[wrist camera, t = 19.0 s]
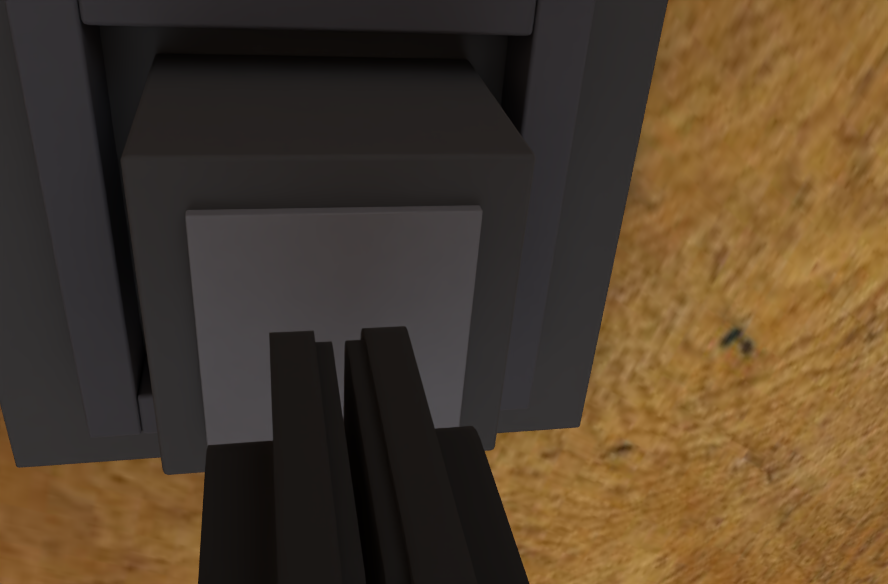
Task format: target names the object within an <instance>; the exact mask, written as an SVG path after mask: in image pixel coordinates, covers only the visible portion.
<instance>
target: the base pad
mask: <svg viewBox="0 0 888 584" xmlns="http://www.w3.org/2000/svg"><path fill="white" fill-rule="evenodd" d="M667 2H668V0H0V405H1V409H2V413H3V417H4V421H5V424H6V428H7V432H8V436H9V440H10V444H11V448H12V451H13V455H14V459H15V463H16V466H17V467H19V468H20V467H34V466H48V465H62V464H75V463H89V462H103V461H117V460H131V459H145V458H159V457H161V454H160V446H159V439H158V432H157V424H156V417H155V410H154V402H153V395H152V388H151V380H150V373H149V366H148V359H147V351H146V344H145V337H144V329H143V322H142V315H141V307H140V300H139V293H138V285H137V278H136V271H135V263H134V256H133V249H132V241H131V234H130V227H129V220H128V212H127V205H126V198H125V190H124V183H123V176H122V168H121V161H120V160H121V157H122V154H123V151H124V148H125V145H126V142H127V139H128V136H129V133H130V130H131V127H132V124H133V120H134V117H135V114H136V111H137V108H138V105H139V102H140V99H141V96H142V93H143V90H144V87H145V84H146V81H147V78H148V75H149V72H150V69H151V66H152V63H153V60H154V57H155V55H156V54H213V55H266V56H319V57H372V58H425V59H466V60H468V61H469V62H470V63H471V65H472V66H473V68H474V69H475V70H476V72H477V73H478V75H479V76H480V77H481V79H482V80H483V82H484V83H485V85H486V86H487V87H488V89H489V90H490V92H491V93H492V95H493V96H494V97H495V99H496V100H497V102H498V103H499V105H500V106H501V107H502V109H503V110H504V112H505V113H506V115H507V116H508V117H509V119H510V120H511V122H512V123H513V125H514V126H515V127H516V129H517V130H518V132H519V133H520V135H521V136H522V137H523V139H524V140H525V142H526V143H527V144H528V146H529V147H530V149H531V150H532V152H533V153H534V155H535V164H534V171H533V178H532V186H531V193H530V200H529V207H528V214H527V221H526V228H525V235H524V242H523V249H522V256H521V264H520V271H519V278H518V285H517V292H516V299H515V306H514V313H513V320H512V327H511V335H510V342H509V349H508V356H507V363H506V370H505V377H504V384H503V391H502V398H501V406H500V413H499V420H498V427H497V433H506V432H520V431H534V430H548V429H561V428H575V427H579V426H580V422H581V417H582V412H583V407H584V403H585V398H586V393H587V388H588V383H589V378H590V374H591V369H592V364H593V359H594V354H595V350H596V345H597V340H598V335H599V330H600V325H601V321H602V316H603V311H604V306H605V301H606V296H607V292H608V287H609V282H610V277H611V272H612V268H613V263H614V258H615V253H616V248H617V243H618V239H619V234H620V229H621V224H622V219H623V215H624V210H625V205H626V200H627V195H628V190H629V186H630V181H631V176H632V171H633V166H634V161H635V157H636V152H637V147H638V142H639V137H640V133H641V128H642V123H643V118H644V113H645V108H646V104H647V99H648V94H649V89H650V84H651V79H652V75H653V70H654V65H655V60H656V55H657V51H658V46H659V41H660V36H661V31H662V26H663V22H664V17H665V12H666V7H667Z"/></svg>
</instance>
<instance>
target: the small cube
mask: <svg viewBox="0 0 888 584" xmlns="http://www.w3.org/2000/svg"><path fill="white" fill-rule="evenodd" d="M120 161H121V168H122V176H123V183H124V190H125V198H126V205H127V212H128V220H129V227H130V234H131V241H132V249H133V256H134V263H135V271H136V278H137V285H138V293H139V300H140V307H141V315H142V322H143V329H144V337H145V344H146V351H147V359H148V366H149V373H150V380H151V388H152V395H153V402H154V410H155V417H156V424H157V432H158V439H159V446H160V454H161V461H162V468H163V471H164V473H165V474H167V475H171V474H185V473H198V472H205V463H206V451H207V447H208V445H217V444H231V443H244V442H258V441H272V440H273V429H272V400H271V371H270V343H269V333H272V332H293V331H314V335H315V342H328V341H332V345H333V351H334V358H335V365H336V372H337V380H338V387H339V394H340V401H341V408H342V415H343V416H344V350H345V341H348V340H360V337H361V330H362V328H376V327H397V326H405V327H406V328H407V330H408V333H409V337H410V340H411V344H412V348H413V351H414V355H415V359H416V362H417V366H418V369H419V373H420V377H421V380H422V384H423V388H424V391H425V395H426V398H427V402H428V406H429V409H430V413H431V417H432V420H433V424H434V427H435V428H449V427H463V426H473V427H474V428H475V429H476V430H477V432H478V435H479V437H480V439H481V442H482V445H483V448H484V451H488V450H492V449H494V447H495V441H496V434H497V427H498V420H499V413H500V406H501V398H502V391H503V384H504V377H505V370H506V363H507V356H508V349H509V342H510V335H511V327H512V320H513V313H514V306H515V299H516V292H517V285H518V278H519V271H520V264H521V256H522V249H523V242H524V235H525V228H526V221H527V214H528V207H529V200H530V193H531V186H532V178H533V171H534V164H535V155H534V153H533V152H532V150H531V149H530V147H529V146H528V144H527V143H526V142H525V140H524V139H523V137H522V136H521V135H520V133H519V132H518V130H517V129H516V127H515V126H514V125H513V123H512V122H511V120H510V119H509V117H508V116H507V115H506V113H505V112H504V110H503V109H502V107H501V106H500V105H499V103H498V102H497V100H496V99H495V97H494V96H493V95H492V93H491V92H490V90H489V89H488V87H487V86H486V85H485V83H484V82H483V80H482V79H481V77H480V76H479V75H478V73H477V72H476V70H475V69H474V68H473V66H472V65H471V63H470V62H469V61H468V60H466V59H425V58H372V57H319V56H266V55H213V54H156V55H155V57H154V60H153V63H152V66H151V69H150V72H149V75H148V78H147V81H146V84H145V87H144V90H143V93H142V96H141V99H140V102H139V105H138V108H137V111H136V114H135V117H134V120H133V124H132V127H131V130H130V133H129V136H128V139H127V142H126V145H125V148H124V151H123V154H122V157H121V160H120Z"/></svg>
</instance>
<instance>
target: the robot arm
mask: <svg viewBox="0 0 888 584" xmlns="http://www.w3.org/2000/svg"><path fill="white" fill-rule="evenodd" d="M269 343H270V371H271V400H272V429H273V440H272V441H258V442H244V443H231V444H217V445H208V447H207V451H206V463H205V479H204V496H203V512H202V528H201V545H200V561H199V578H198V584H529V581H528V578H527V575H526V572H525V569H524V567H523V564H522V561H521V558H520V555H519V552H518V549H517V546H516V543H515V540H514V537H513V534H512V531H511V528H510V525H509V522H508V519H507V516H506V513H505V510H504V507H503V504H502V501H501V498H500V496H499V493H498V490H497V487H496V484H495V481H494V478H493V475H492V472H491V469H490V466H489V463H488V460H487V457H486V454H485V451H484V448H483V445H482V442H481V439H480V437H479V435H478V432H477V430H476V429H475V428H474V427H473V426H463V427H449V428H435V427H434V424H433V420H432V417H431V413H430V409H429V406H428V402H427V398H426V395H425V391H424V388H423V384H422V380H421V377H420V373H419V369H418V366H417V362H416V359H415V355H414V351H413V348H412V344H411V340H410V337H409V333H408V330H407V328H406V327H405V326H397V327H376V328H362V330H361V337H360V340H348V341H345V350H344V416H343V415H342V408H341V401H340V394H339V387H338V380H337V372H336V365H335V358H334V351H333V345H332V341H328V342H315V335H314V331H293V332H272V333H269Z"/></svg>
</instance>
